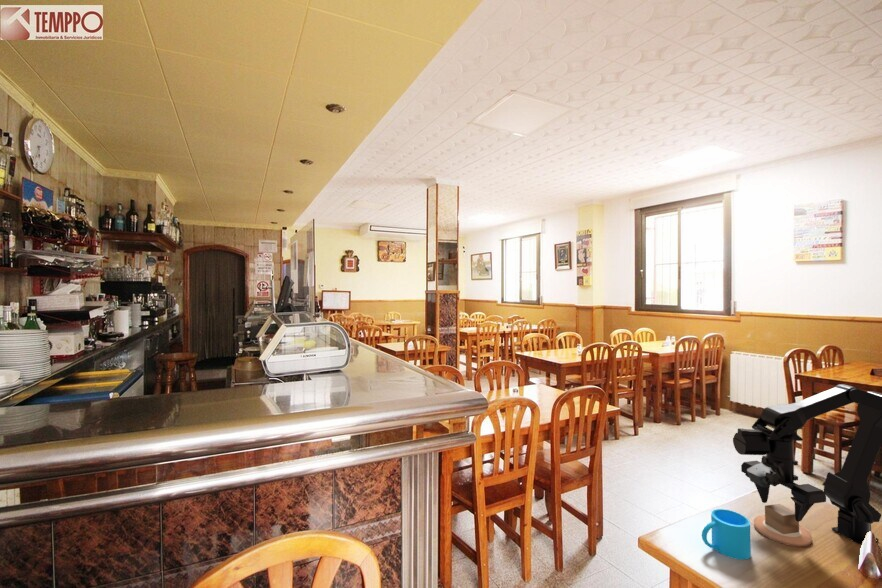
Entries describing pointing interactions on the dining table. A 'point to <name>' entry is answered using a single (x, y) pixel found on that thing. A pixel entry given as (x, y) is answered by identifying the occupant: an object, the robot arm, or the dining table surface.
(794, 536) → the terracotta dish
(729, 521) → the mug
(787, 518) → the walnut block
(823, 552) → the dining table surface
